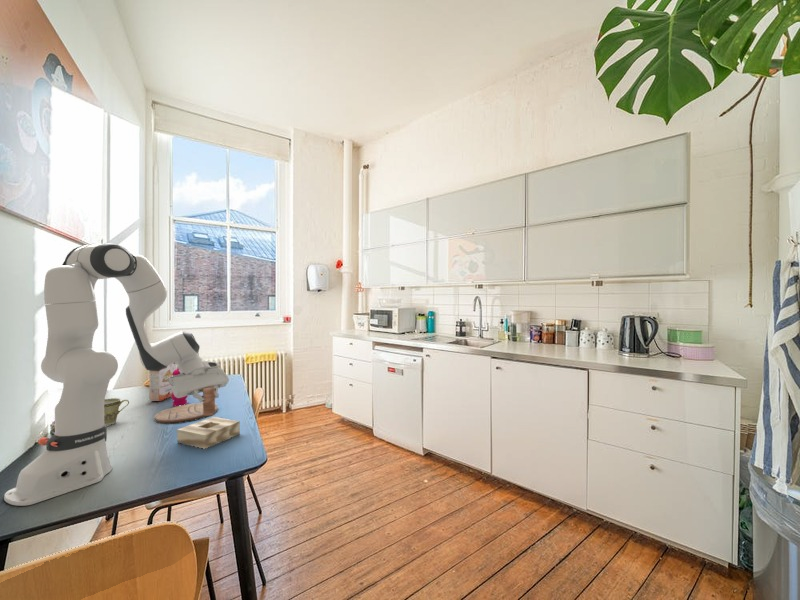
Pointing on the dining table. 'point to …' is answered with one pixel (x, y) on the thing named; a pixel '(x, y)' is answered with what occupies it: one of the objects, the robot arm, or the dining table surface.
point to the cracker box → (161, 383)
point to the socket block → (208, 432)
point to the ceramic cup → (112, 410)
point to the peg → (209, 401)
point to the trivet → (181, 413)
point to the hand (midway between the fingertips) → (209, 399)
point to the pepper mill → (176, 400)
